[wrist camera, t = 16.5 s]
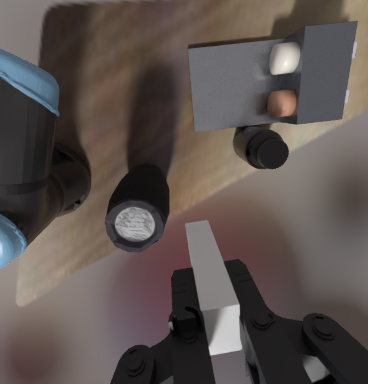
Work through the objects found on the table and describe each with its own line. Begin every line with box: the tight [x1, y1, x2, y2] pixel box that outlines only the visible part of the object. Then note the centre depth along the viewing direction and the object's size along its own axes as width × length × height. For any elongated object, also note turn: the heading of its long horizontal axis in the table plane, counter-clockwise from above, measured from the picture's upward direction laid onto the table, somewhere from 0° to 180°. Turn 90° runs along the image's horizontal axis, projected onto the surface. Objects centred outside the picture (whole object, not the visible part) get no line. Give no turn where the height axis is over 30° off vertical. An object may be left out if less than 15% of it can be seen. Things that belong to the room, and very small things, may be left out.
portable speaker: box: [105, 164, 169, 252], centre depth 37 cm, size 9×9×20 cm
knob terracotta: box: [268, 89, 349, 118], centre depth 39 cm, size 13×4×4 cm, turn 96°
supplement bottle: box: [233, 126, 289, 169], centre depth 39 cm, size 7×7×12 cm
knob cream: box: [269, 42, 357, 75], centre depth 36 cm, size 13×4×4 cm, turn 96°
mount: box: [188, 21, 358, 132], centre depth 38 cm, size 25×14×7 cm, turn 96°
